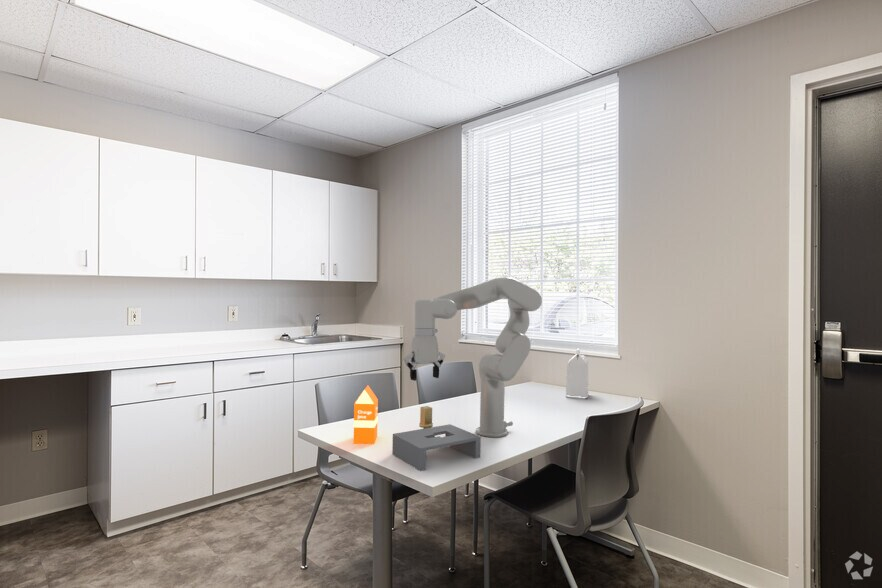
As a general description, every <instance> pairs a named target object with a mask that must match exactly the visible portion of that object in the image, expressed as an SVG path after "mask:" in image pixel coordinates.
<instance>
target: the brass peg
mask: <svg viewBox="0 0 882 588" xmlns="http://www.w3.org/2000/svg"><path fill="white" fill-rule="evenodd" d="M419 415H420V416H419V417H420V418H419V420H420V421H419V426H418V427H420V428H421V429H425V428H431V427H434V423H433V407H432V406H429V405H427V406H420V413H419Z"/></svg>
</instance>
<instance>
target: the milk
mask: <svg viewBox="0 0 882 588" xmlns="http://www.w3.org/2000/svg"><path fill="white" fill-rule="evenodd" d="M580 352H581V351H580V348H576V353H575V355H573V356H572V357H571V358H570V359H568V362H567V369H566V385H565V396H566V395H570V396H581V397H588V398H589V361H588V359H587V357H586V356H585V355H584V354H581V353H580Z"/></svg>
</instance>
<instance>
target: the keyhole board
mask: <svg viewBox="0 0 882 588" xmlns="http://www.w3.org/2000/svg"><path fill="white" fill-rule="evenodd" d="M441 435H445V436H441ZM481 441H482V439H481V435H480V436H479V434H475V433H473V432H470V431H467V430H465V429H463V428H460V427H458V426H456V425H453V424H450V423H448V424H443V425H438V426H433V427H431V428H425V429H424V428H421V429H414V430H409V431H402V432H396V433H393V434H392V447H391V448H392V452H391V453H392V455H393V456H394V457H396V458H398V459H399V460H401V461H403V462H404V463H406V464H408V465H409V464H410V465H409V466H411V467H413V468H414V467H415V468H414V469H416V470H418V471H419V470H420V472H421V470H423V471H425V470H427V468H426V467H427V465H426V464H427V451H431V450H432V451H433V450H436V449H441V448H446V447H450V448H453V449H455V450H457V451H460V452H462V453H463V454H465V455H467V456H470V457H472V458H474V459H479V458H481V450H482V449H481V447H482V445H481Z"/></svg>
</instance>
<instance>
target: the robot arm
mask: <svg viewBox="0 0 882 588" xmlns="http://www.w3.org/2000/svg"><path fill="white" fill-rule="evenodd" d="M499 300H507V305H508V309H509V319H508V320H507V323H506V324H505V326H504V327H503V329H502V330H501V332H500V334H499V335H498V337H497V338H496V340H495V346H494V347H495V349H496V350H497V352H498V353H493V352H489V353H486V354H484V355H482V357H480V359H479V363H478V370H479V371H478V372H479V379H480V398H479V399H480V402H479V403H480V408H479V410H480V411H479V426H478V427H477V428H476V429H475V433H476V435H478V436H479V435H480V436H482V437H488V438H501V437H506V436H507V435H508V434H509V431H508V429H507V427H511V426H513V425H514V424H513V422H514V421H512V420H509V421H506V420H505V393H506V391H505V383H504V382H509V381H511V380H512V379H514V378H515V376H516V375H517V374H518V372H519V371H520V369H521V368H522V366H523V365H524V362H525V360H527V357H528V356H529V354H530V351H531V340H530V338H529V336H527V335H526V333H527V331H528V329H529V326H530V314H529V312H535V311H537V310H539V309H540V308H541V306H542V302H543V299H542V296H541V294H540V292H538V290H536V289H534V288H532V287H530V286H529V285H527V284H525V283H523V282H521V281H519V280H517V279H516V278H513V277H497V278H493V279H490V280H487V281H484V282H482V283H479V284H475V285H473V286H470V287H467V288H462V289H460V290H457V291H453V292H450V293H447V294H445V295H441V296H438V297H436V298H433V299H418V300H416V301H415V303H414V336H412V339H411V344H410V353H409V354H408V355H406V356H405V357H404V358H403V361H404V363H405V365H406V366H407V368H408V369H409V377H410V380H411V381H415V382H416V381H417V367H418V365H425V364H427V365H428V364H432V365H433V366H432V378H435V379H439V378H440V377H439V376H440V368H441V365H442V364H443V363H444V360H445V357H446V355H445V354H444V353H442V352H440V351H439V345H438V343H439V342H438V338H437V335H436V333H438V329H437V328H436V319H442V320H449V319H452V318H453V317H455V316H456V314H457V312H458V311H462V310H471V309H477V308H478V309H479V308H480V307H483V306H486V305H488V304H491V303H493V302H494V303H495V302H497V301H499ZM499 353H500V354H499Z"/></svg>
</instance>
